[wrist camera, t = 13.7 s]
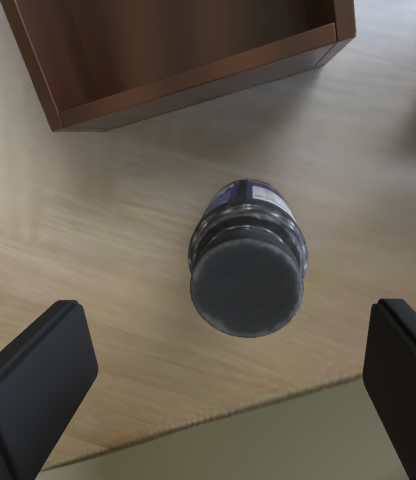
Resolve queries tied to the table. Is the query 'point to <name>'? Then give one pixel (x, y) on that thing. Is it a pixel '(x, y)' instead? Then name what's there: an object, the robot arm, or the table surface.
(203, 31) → the box
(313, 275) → the table surface
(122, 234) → the table surface
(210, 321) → the pill bottle
